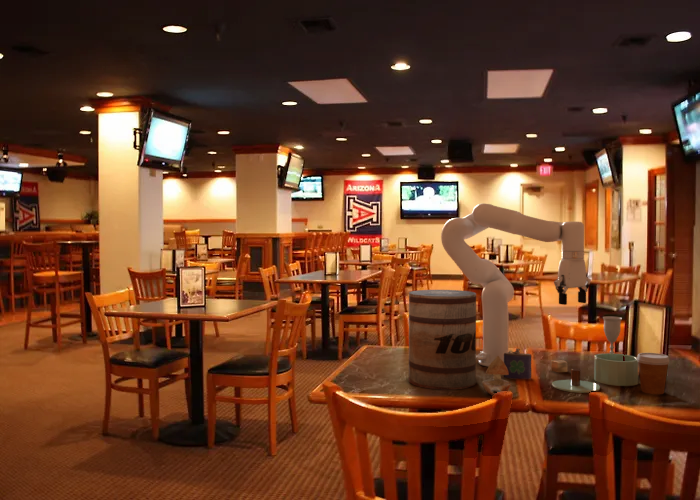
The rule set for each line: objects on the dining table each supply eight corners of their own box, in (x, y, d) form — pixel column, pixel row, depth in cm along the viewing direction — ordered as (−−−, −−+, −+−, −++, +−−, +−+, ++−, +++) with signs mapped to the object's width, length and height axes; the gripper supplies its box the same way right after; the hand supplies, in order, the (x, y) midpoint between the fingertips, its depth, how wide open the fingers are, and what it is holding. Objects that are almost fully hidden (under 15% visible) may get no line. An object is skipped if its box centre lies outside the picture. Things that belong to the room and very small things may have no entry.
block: (557, 373, 227) (557, 362, 226) (551, 371, 230) (551, 360, 230) (567, 373, 228) (567, 362, 227) (561, 370, 231) (561, 359, 231)
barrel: (471, 391, 202) (472, 297, 201) (402, 386, 209) (402, 295, 208) (479, 376, 223) (479, 290, 222) (416, 371, 230) (416, 288, 229)
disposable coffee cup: (630, 389, 204) (630, 352, 204) (658, 389, 205) (659, 352, 205) (646, 397, 195) (646, 358, 194) (676, 397, 196) (676, 358, 195)
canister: (611, 388, 206) (611, 362, 205) (586, 379, 219) (586, 354, 219) (647, 386, 209) (647, 360, 209) (620, 376, 222) (620, 352, 222)
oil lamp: (511, 386, 208) (511, 356, 208) (510, 404, 187) (510, 370, 187) (484, 385, 210) (484, 355, 210) (480, 402, 190) (480, 369, 189)
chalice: (623, 367, 237) (623, 319, 236) (603, 366, 238) (604, 318, 238) (619, 363, 244) (619, 316, 243) (600, 362, 245) (600, 316, 245)
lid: (568, 396, 197) (568, 376, 197) (543, 384, 211) (543, 366, 211) (610, 393, 200) (610, 373, 200) (582, 382, 215) (582, 363, 214)
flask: (531, 379, 218) (531, 348, 218) (531, 381, 216) (531, 349, 215) (503, 377, 221) (503, 347, 221) (503, 379, 218) (503, 348, 218)
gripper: (581, 255, 236) (581, 301, 236) (547, 256, 228) (547, 304, 228) (598, 255, 229) (597, 303, 230) (563, 257, 221) (563, 306, 221)
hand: (572, 303), depth 229 cm, fingers open, 9 cm apart
